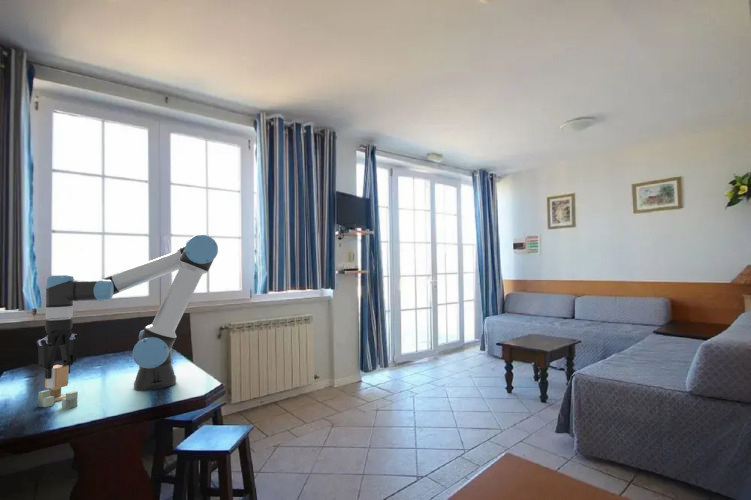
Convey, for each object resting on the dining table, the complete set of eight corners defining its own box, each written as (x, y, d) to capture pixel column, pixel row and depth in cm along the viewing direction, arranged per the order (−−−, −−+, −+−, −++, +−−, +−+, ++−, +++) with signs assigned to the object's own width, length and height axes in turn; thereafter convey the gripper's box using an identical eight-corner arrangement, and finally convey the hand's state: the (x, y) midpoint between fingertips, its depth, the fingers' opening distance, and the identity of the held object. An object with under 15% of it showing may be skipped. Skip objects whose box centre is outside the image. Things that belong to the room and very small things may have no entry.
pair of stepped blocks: (77, 406, 137) (77, 391, 137) (70, 408, 135) (70, 393, 135) (45, 404, 140) (45, 389, 140) (38, 406, 138) (38, 392, 138)
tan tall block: (67, 385, 139) (68, 365, 140) (56, 388, 135) (56, 368, 136) (56, 384, 140) (57, 364, 141) (44, 387, 136) (45, 367, 137)
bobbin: (71, 397, 148) (71, 375, 148) (52, 403, 141) (52, 380, 141) (56, 396, 149) (57, 374, 150) (37, 402, 143) (37, 379, 143)
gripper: (73, 316, 148) (72, 378, 147) (24, 321, 132) (22, 392, 130) (90, 316, 147) (88, 379, 145) (42, 321, 130) (40, 393, 129)
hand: (57, 385), depth 138 cm, fingers closed on tan tall block, 4 cm apart
